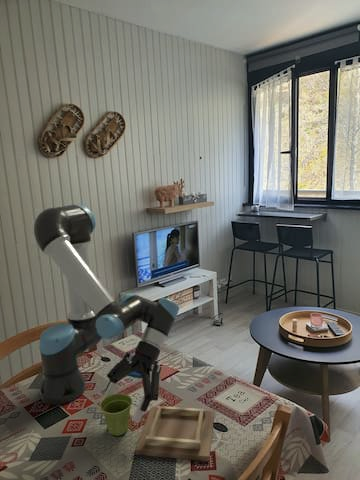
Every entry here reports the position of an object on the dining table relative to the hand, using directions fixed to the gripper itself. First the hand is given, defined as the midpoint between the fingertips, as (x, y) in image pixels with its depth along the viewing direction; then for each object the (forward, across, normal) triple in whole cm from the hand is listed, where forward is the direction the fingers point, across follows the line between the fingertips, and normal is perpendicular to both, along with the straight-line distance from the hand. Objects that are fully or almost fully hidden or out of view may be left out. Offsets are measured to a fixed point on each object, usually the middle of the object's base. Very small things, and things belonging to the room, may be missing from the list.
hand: (118, 412), depth 105 cm
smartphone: (-13, +22, -22) cm, 34 cm away
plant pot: (+4, +1, -4) cm, 6 cm away
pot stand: (-2, -15, -10) cm, 18 cm away
